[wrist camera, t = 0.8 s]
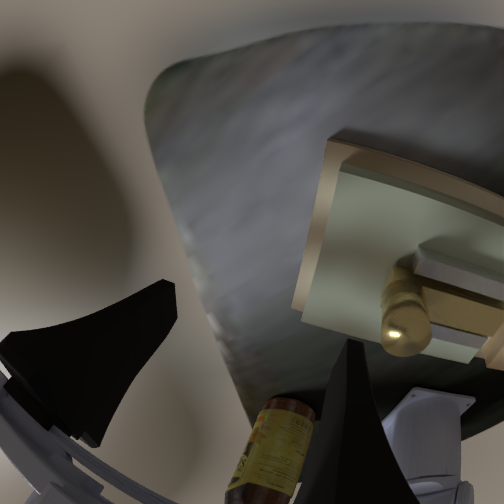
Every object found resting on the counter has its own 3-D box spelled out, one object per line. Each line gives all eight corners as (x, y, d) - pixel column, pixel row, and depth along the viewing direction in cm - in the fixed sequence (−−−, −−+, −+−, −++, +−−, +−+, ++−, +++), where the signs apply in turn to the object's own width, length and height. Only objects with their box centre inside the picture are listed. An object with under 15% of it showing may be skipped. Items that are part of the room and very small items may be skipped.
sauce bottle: (260, 389, 30) (180, 551, 14) (317, 397, 28) (250, 577, 12) (268, 418, 33) (204, 557, 17) (318, 426, 31) (263, 575, 15)
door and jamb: (541, 362, 16) (548, 386, 14) (294, 299, 22) (283, 326, 20) (607, 258, 10) (623, 278, 7) (329, 137, 16) (322, 146, 13)
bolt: (486, 326, 14) (500, 377, 11) (375, 295, 16) (373, 350, 13) (505, 296, 13) (525, 347, 9) (390, 260, 15) (393, 313, 11)
